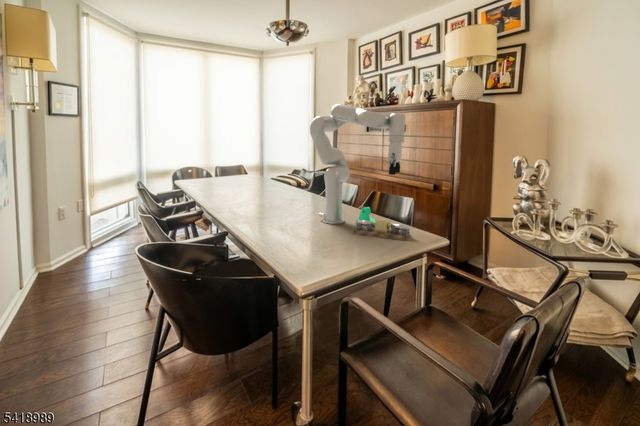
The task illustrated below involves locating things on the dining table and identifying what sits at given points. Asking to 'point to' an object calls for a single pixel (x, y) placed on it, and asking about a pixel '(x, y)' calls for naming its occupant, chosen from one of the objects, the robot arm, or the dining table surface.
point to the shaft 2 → (397, 227)
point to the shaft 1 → (364, 224)
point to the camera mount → (365, 214)
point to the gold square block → (382, 225)
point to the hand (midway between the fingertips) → (394, 173)
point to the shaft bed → (379, 234)
